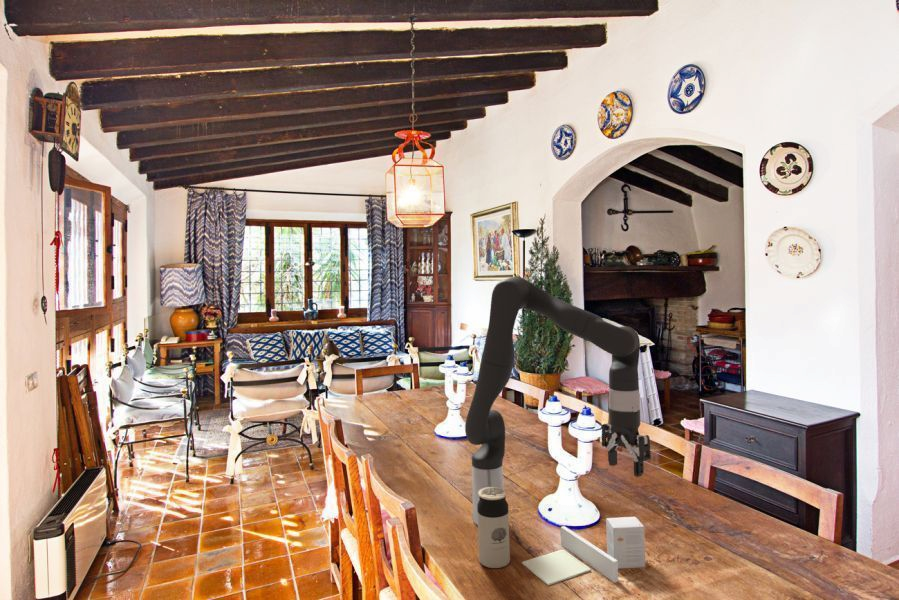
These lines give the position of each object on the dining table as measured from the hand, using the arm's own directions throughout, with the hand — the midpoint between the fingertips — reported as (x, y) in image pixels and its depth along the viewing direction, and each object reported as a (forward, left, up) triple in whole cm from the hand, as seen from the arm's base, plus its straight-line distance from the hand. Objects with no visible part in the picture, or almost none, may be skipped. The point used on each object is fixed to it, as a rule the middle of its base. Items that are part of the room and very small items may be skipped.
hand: (625, 470), depth 130 cm
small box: (0, 0, -24) cm, 24 cm away
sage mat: (-7, -17, -24) cm, 30 cm away
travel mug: (-17, -29, -24) cm, 41 cm away
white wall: (-5, -8, -24) cm, 26 cm away
